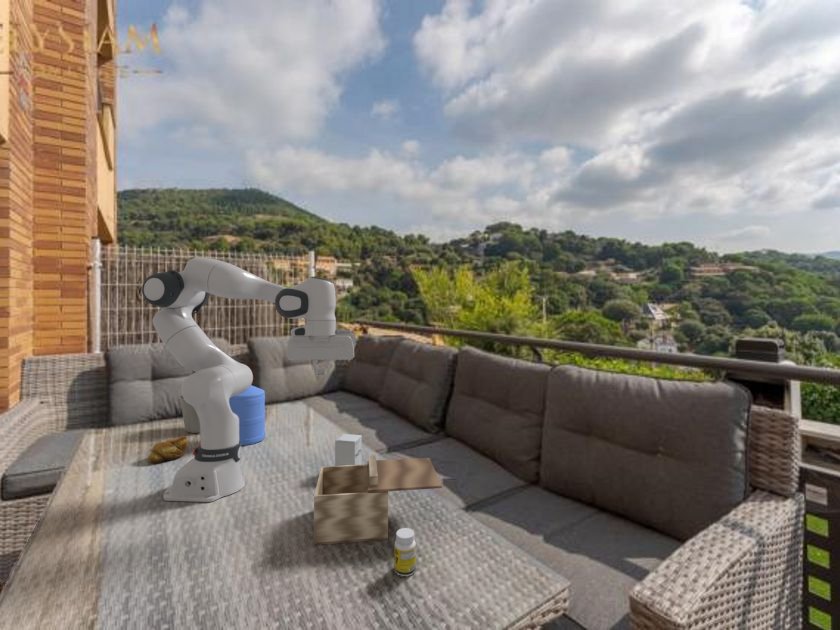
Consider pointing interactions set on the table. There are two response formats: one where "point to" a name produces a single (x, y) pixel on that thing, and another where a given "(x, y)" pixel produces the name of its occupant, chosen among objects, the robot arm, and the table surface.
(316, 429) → the table surface
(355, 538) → the box
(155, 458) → the bread roll
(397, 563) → the supplement bottle
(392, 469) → the lid
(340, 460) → the supplement box
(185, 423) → the canister
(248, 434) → the water jug
